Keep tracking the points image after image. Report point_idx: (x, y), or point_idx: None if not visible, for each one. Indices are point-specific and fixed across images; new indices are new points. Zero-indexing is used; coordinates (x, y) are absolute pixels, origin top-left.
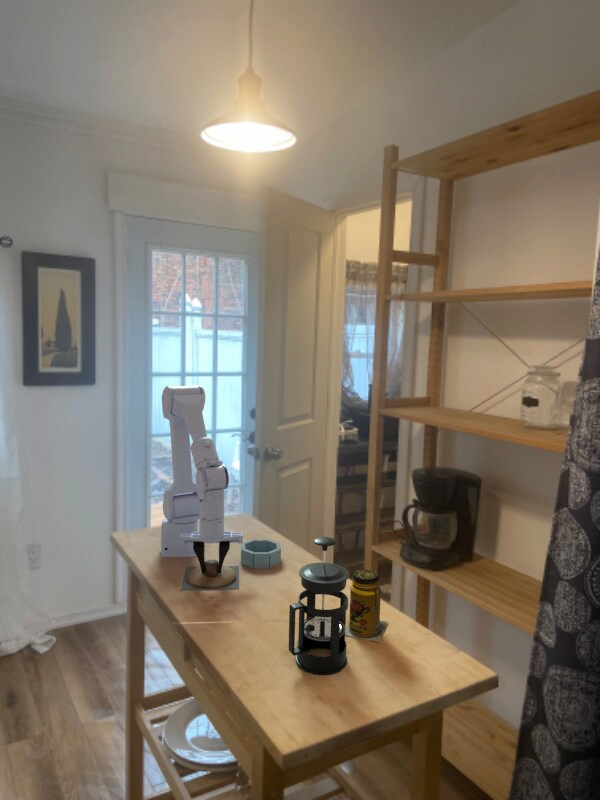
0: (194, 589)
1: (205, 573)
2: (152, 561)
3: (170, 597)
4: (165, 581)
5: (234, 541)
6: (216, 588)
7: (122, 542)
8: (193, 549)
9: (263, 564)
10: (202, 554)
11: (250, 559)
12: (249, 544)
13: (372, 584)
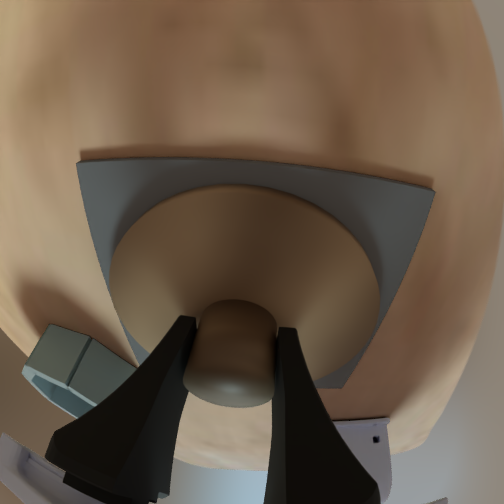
0: (358, 183)
1: (273, 328)
2: (417, 402)
3: (486, 133)
4: (452, 304)
5: (47, 468)
6: (202, 176)
7: (425, 436)
8: (379, 494)
9: (56, 340)
10: (295, 455)
11: (88, 371)
12: None
13: None
